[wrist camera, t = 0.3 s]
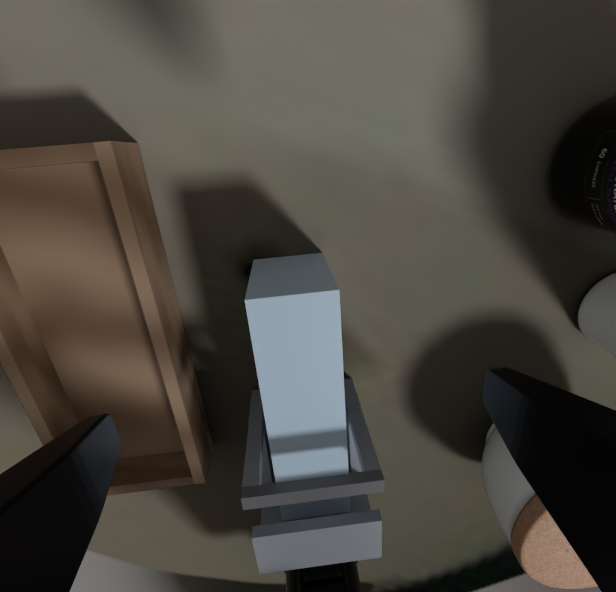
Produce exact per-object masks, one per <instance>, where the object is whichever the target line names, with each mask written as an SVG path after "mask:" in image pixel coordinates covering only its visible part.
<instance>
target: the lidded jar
mask: <svg viewBox="0 0 616 592" xmlns="http://www.w3.org/2000/svg"><path fill="white" fill-rule="evenodd" d="M485 444H486V445H485V447H484V451H483V456H482V478H483V484H484V488H485V492H486V495H487V498H488V501H489V503H490V506H491V508H492V510H493V512H494V515H495V517H496V519H497V521H498V523H499V524H500V526H501V528H502V530H503V532H504V534H505V535H506V537H507V539H508V541H509V542H510V544H511V546H512V550H513V552H514V554H515V556H516V558H517V560H518V561H519V563H520V565H521V566H522V568H523V570H524V571H525V572H526V573H527V574H528V575H529V576H530V577H531V578H533V579H535V580H536V581H538V582H539V583H542V584H544V585H547V586H550V587H555V588H563V589H580V588H589V587H596V586H598V585H597V584H596V582H595V581H594V579H593V578H592V576H591V575H590V574H589V572H588V571H587V569H586V568H585V566H584V565H583V563H582V562H581V560H580V559H579V557H578V556H577V554H576V553H575V551H574V550H573V548H572V547H571V545H570V544H569V542H568V541H567V539H566V538H565V536H564V535H563V533H562V532H561V530H560V529H559V527H558V526H557V524H556V523H555V521H554V520H553V518H552V517H551V515H550V514H549V512H548V511H547V510H546V508H545V507H544V505H543V504H542V502H541V501H540V499H539V498H538V496H537V495H536V493H535V492H534V490H533V489H532V487H531V486H530V484H529V483H528V481H527V480H526V478H525V477H524V475H523V474H522V472H521V471H520V469H519V468H518V466H517V464H516V463H515V461H514V459H513V458H512V456H511V454H510V452H509V450H508V449H507V447H506V445H505V443H504V441H503V439H502V437H501V436H500V434H499V432H498V430H497V428H496V426H495V425H494V423H493V424H492V425H491V427H490V428H489V430H488V432H487V435H486V440H485Z"/></svg>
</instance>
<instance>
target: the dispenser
mask: <svg viewBox="0 0 616 592" xmlns="http://www.w3.org/2000/svg"><path fill="white" fill-rule="evenodd" d="M344 391H345V410H346V429H347V449H348V468H349V473H348V474H340V475H332V476H324V477H317V478H309V479H301V480H293V481H285V482H278V483H276V481H275V476H274V470H273V464H272V458H271V452H270V446H269V441H268V435H267V429H266V423H265V417H264V411H263V406H262V400H261V394H260V389H256V390H252V394H251V403H250V412H249V421H248V423H249V425H248V434H247V444H246V453H245V462H244V472H243V481H242V490H241V503H242V507H243V510H249V509H256V508H261V524H260V525H258V526H252V542H253V547H254V551H255V556H256V560H257V564H258V569H259V573H260V574H265V573H273V572H280V571H287V570H294V569H301V568H308V567H315V566H323V565H330V564H337V563H344V562H351V561H358V560H366V559H373V558H380V557H382V519H381V515H380V512H379V509H378V510H371V509H370V505H369V501H368V497H367V494H371V493H378V492H384V477H383V474H382V471H381V468H380V465H379V462H378V459H377V456H376V453H375V450H374V446H373V443H372V440H371V437H370V434H369V431H368V428H367V425H366V422H365V419H364V416H363V413H362V408H361V405H360V402H359V399H358V396H357V393H356V390H355V387H354V384H353V381H352V378H351V379H344ZM348 496H350V507H351V512H345V513H338V514H331V515H323V516H316V517H309V518H301V519H294V520H287V521H282V517H281V511H280V505H287V504H295V503H302V502H310V501H317V500H325V499H333V498H340V497H348Z"/></svg>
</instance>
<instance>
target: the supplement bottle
mask: <svg viewBox="0 0 616 592" xmlns="http://www.w3.org/2000/svg"><path fill="white" fill-rule="evenodd" d="M550 191H551V195H552V198H553V201H554V203H555V205H556V207H557V208H558V210H559V211H560V212H561V213H562V214H563V215H564V216H565V217H567V218H568V219H570V220H572V221H574V222H576V223H579V224H582V225H585V226H589V227H593V228H596V229H600V230H604V231H608V232H611V233H615V234H616V95H615V96H612V97H610V98H608V99H606V100H604V101H602V102H600V103H598V104H597V105H595V106H594V107H592V108H591V109H590V110H588V111H587V112H586V113H585V114H583V115H582V116H581V117H580V118H579V119H578V120H577V121H576V122H575V123H574V124H573V126H572V127H571V128H570V129H569V131H568V132H567V133H566V135H565V136H564V138H563V139H562V141H561V143H560V145H559V147H558V149H557V151H556V153H555V156H554V159H553V162H552V166H551V171H550Z"/></svg>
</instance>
